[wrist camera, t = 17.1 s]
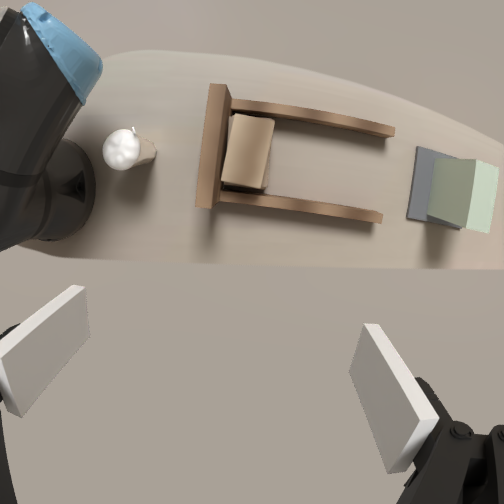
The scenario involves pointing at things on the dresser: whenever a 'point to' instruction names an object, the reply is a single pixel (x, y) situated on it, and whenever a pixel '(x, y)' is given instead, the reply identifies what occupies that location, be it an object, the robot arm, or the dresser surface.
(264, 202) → the rack
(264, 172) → the offcut stack
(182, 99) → the dresser surface
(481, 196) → the block
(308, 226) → the dresser surface
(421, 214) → the rubber pad
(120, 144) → the milkshake
